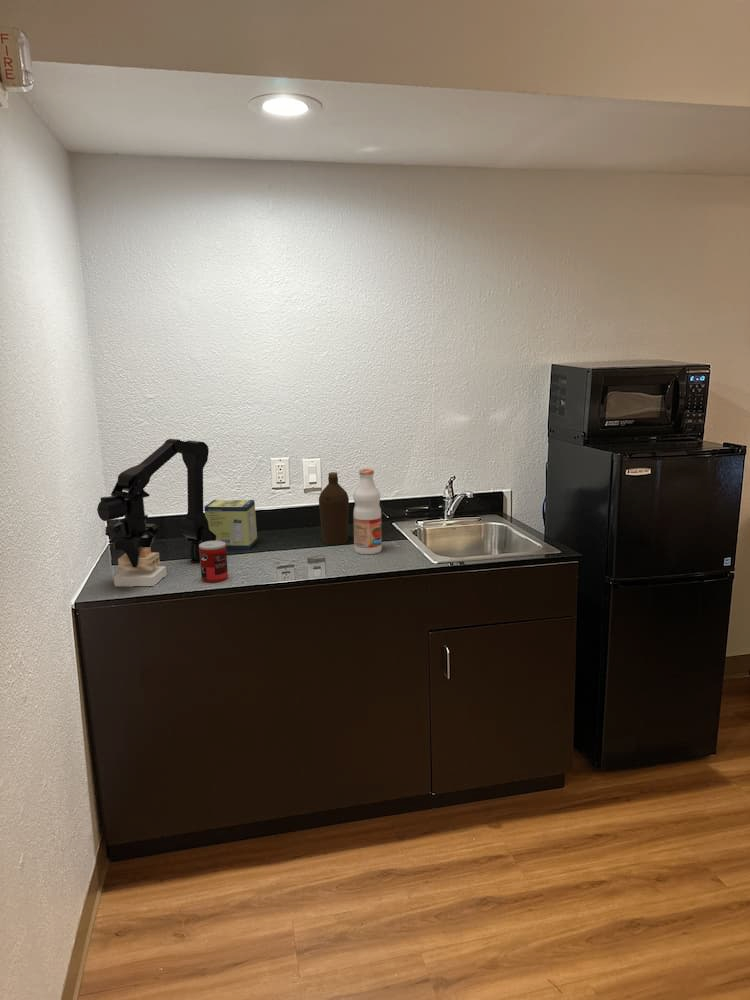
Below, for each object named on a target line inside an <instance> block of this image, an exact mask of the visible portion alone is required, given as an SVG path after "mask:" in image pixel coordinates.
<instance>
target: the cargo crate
mask: <svg viewBox="0 0 750 1000" xmlns="http://www.w3.org/2000/svg"><path fill="white" fill-rule="evenodd" d="M151 548H152V546H151V547H141V551H140V556H139V558H146V557H147V556H149V555H150V554H151V552H152V550H151ZM125 554H126V553H125ZM126 557H127V558H128V556H127V554H126Z"/></svg>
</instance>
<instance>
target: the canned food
mask: <svg viewBox="0 0 750 1000" xmlns="http://www.w3.org/2000/svg"><path fill="white" fill-rule="evenodd" d="M199 555H200V562H199V565H200V575H201V576H200V577H201V579H202V581H203V582H205V583H220V582H223V580H224V581H226V580H227V579H228V576H229V573H228V572H229V570H228V557H227V549H226V544H225V542H223V541H207V542H203V543H201V544H199Z"/></svg>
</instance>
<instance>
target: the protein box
mask: <svg viewBox="0 0 750 1000" xmlns="http://www.w3.org/2000/svg"><path fill="white" fill-rule="evenodd" d="M255 501H256V500H255V499H227V500H226V499H213V500H211V501H210V502H208V504H206V505H203V510H204V514H205V516H206V518H207V520H208V525H209V530H210V531H211V532H213V533H214V534H215V535H216V541H223V542H225V544H226V550H242V549H245V551H246V550H248V551H249V550H250V549H251V548H252V547H254V545H255V544H256V543H257V542H258V534H257V516H256V505H255V504H256V503H255Z"/></svg>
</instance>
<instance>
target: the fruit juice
mask: <svg viewBox="0 0 750 1000" xmlns="http://www.w3.org/2000/svg"><path fill="white" fill-rule="evenodd" d="M374 475H375V472H374V469H371V468H370V469H369V468H365V469H360V470H359V471H358V476H359V481H358V482H359V483H358V486H357V487H356V489H355V490H354V491H353V502H354V507H353V515H352V517H353V544H354V545H353V546H354V547H353V548H354V552H355V553H357V554H359V555H374V554H378V553H380V552H382V548H383V547H382V546H383V545H382V543H383V542H382V541H383V539H382V535H383V534H382V509H381V506H380V501H381V492H380V490H379V489H378V488H377V486H376V484H375V482H374Z"/></svg>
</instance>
